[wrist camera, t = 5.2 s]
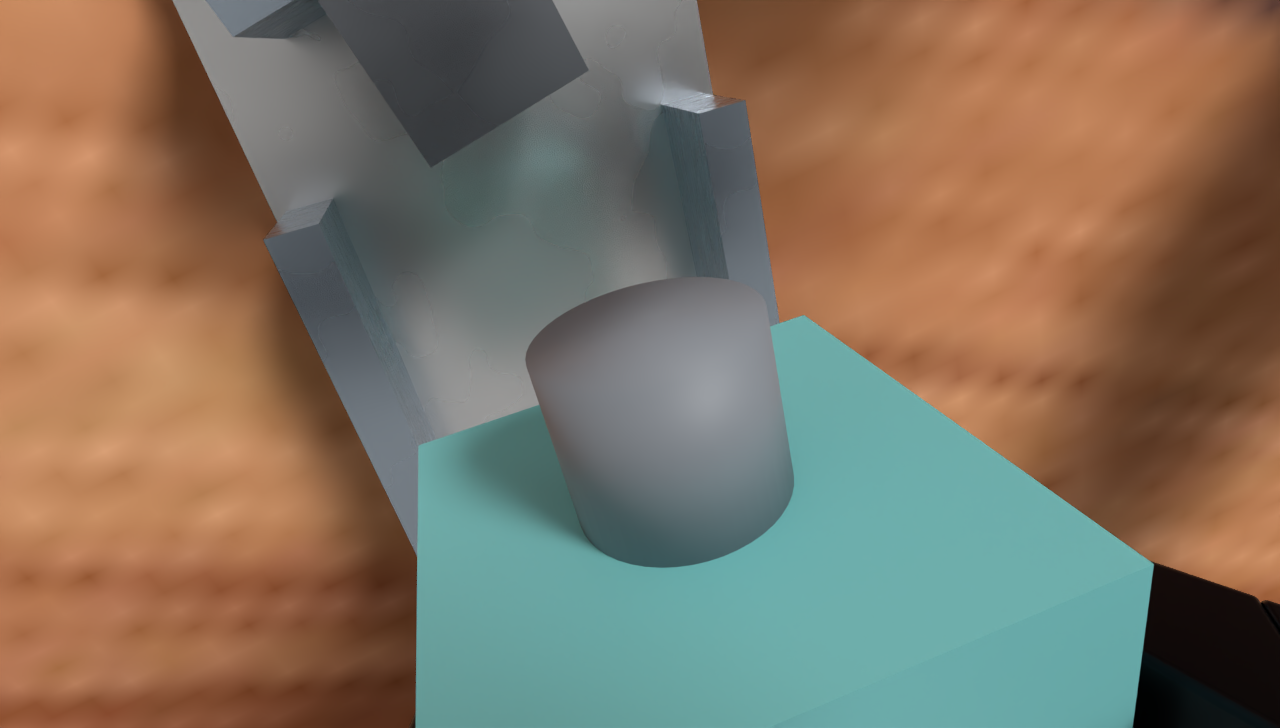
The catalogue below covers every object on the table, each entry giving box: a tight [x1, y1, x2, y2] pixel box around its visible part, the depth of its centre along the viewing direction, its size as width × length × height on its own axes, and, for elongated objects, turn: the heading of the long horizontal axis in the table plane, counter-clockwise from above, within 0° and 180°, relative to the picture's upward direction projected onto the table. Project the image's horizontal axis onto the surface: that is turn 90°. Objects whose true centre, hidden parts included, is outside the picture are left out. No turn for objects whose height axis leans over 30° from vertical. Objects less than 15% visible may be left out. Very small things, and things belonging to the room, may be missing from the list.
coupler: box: [416, 277, 1154, 728], centre depth 7 cm, size 4×8×4 cm, turn 14°
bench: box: [173, 0, 779, 555], centre depth 13 cm, size 8×21×5 cm, turn 14°
